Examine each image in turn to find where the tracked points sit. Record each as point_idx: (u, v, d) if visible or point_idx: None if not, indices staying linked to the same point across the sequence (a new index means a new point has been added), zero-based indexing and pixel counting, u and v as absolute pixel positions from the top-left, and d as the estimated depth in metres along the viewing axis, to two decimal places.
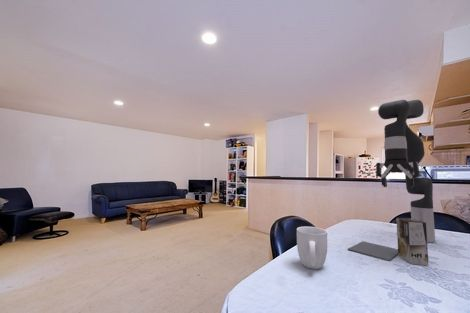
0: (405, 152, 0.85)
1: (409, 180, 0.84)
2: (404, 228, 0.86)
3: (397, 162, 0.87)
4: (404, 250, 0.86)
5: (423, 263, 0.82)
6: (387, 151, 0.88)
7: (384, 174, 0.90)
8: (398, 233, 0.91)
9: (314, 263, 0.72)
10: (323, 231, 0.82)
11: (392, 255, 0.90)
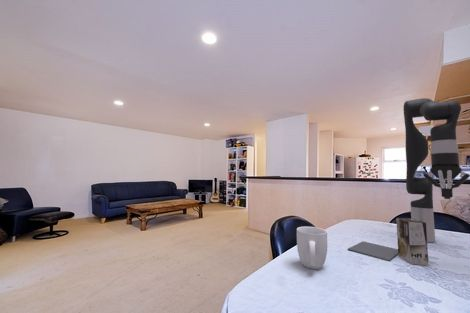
0: (457, 157, 0.78)
1: (447, 190, 0.79)
2: (404, 228, 0.86)
3: (447, 167, 0.80)
4: (404, 250, 0.86)
5: (423, 263, 0.82)
6: (435, 156, 0.81)
7: (442, 183, 0.80)
8: (398, 233, 0.91)
9: (314, 263, 0.72)
10: (323, 231, 0.82)
11: (392, 255, 0.90)
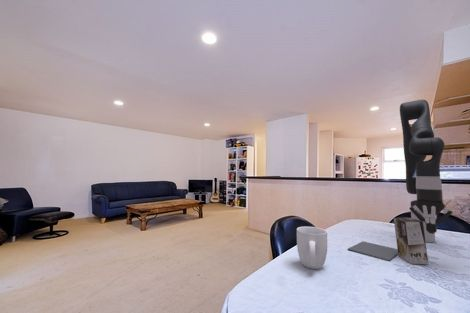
0: (440, 194, 0.80)
1: (431, 225, 0.82)
2: (401, 228, 0.87)
3: (431, 203, 0.82)
4: (403, 250, 0.86)
5: (423, 262, 0.82)
6: (420, 191, 0.83)
7: (427, 218, 0.83)
8: (396, 233, 0.91)
9: (314, 263, 0.72)
10: (323, 231, 0.82)
11: (392, 255, 0.90)
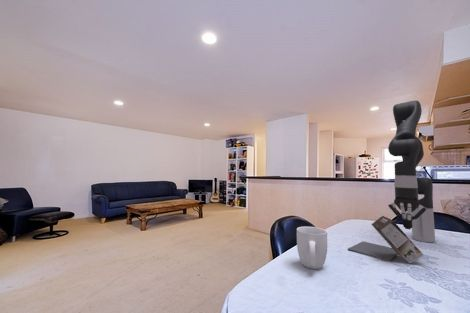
0: (416, 192, 0.86)
1: (408, 222, 0.87)
2: (382, 234, 0.87)
3: (408, 200, 0.88)
4: (397, 251, 0.87)
5: (418, 256, 0.82)
6: (398, 189, 0.89)
7: (403, 215, 0.88)
8: None
9: (314, 263, 0.72)
10: (323, 231, 0.82)
11: (392, 255, 0.90)
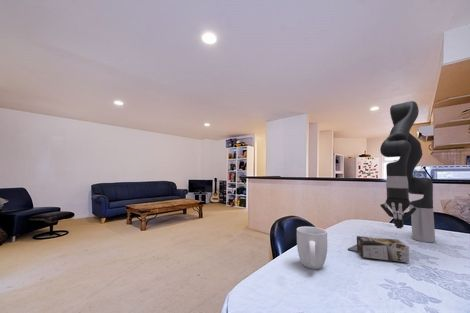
0: (406, 192, 0.88)
1: (399, 221, 0.89)
2: None
3: (399, 200, 0.90)
4: None
5: (407, 251, 0.83)
6: (389, 190, 0.91)
7: (395, 214, 0.91)
8: None
9: (314, 263, 0.72)
10: (323, 231, 0.82)
11: None
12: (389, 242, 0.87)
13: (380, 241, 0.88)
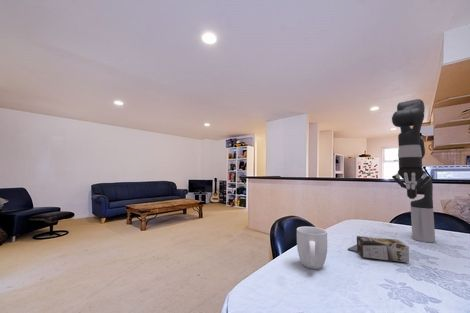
0: (420, 160, 0.85)
1: (412, 191, 0.87)
2: None
3: (412, 170, 0.87)
4: None
5: (407, 251, 0.83)
6: (401, 159, 0.88)
7: (407, 185, 0.88)
8: None
9: (314, 263, 0.72)
10: (323, 231, 0.82)
11: None
12: (389, 242, 0.87)
13: (380, 241, 0.88)
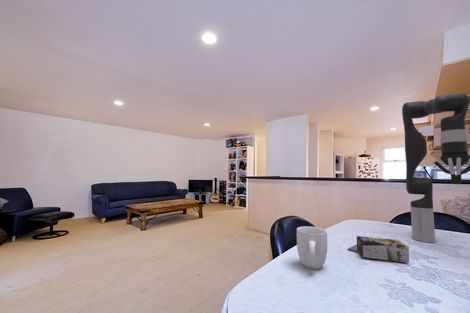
0: (466, 145, 0.84)
1: (457, 176, 0.86)
2: None
3: (456, 155, 0.86)
4: None
5: (407, 251, 0.83)
6: (445, 144, 0.87)
7: (452, 170, 0.87)
8: None
9: (314, 263, 0.72)
10: (323, 231, 0.82)
11: None
12: (389, 242, 0.87)
13: (380, 241, 0.88)
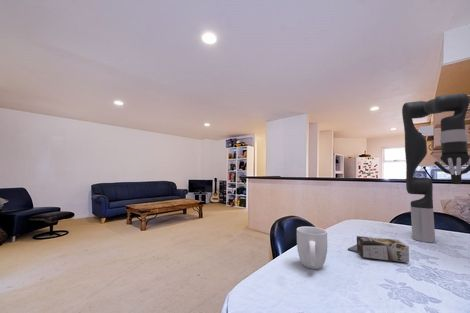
0: (466, 145, 0.84)
1: (457, 176, 0.86)
2: None
3: (456, 155, 0.86)
4: None
5: (407, 251, 0.83)
6: (445, 144, 0.87)
7: (452, 170, 0.87)
8: None
9: (314, 263, 0.72)
10: (323, 231, 0.82)
11: None
12: (389, 242, 0.87)
13: (380, 241, 0.88)
